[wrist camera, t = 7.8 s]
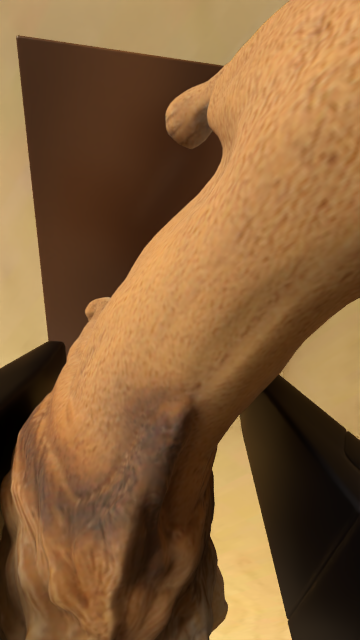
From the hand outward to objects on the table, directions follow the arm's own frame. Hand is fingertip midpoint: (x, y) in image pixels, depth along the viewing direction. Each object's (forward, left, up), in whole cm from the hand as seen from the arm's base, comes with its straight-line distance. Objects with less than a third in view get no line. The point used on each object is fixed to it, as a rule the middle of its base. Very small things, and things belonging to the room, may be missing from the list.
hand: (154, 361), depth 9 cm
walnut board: (0, 0, -9) cm, 9 cm away
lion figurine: (-1, -3, -2) cm, 4 cm away
